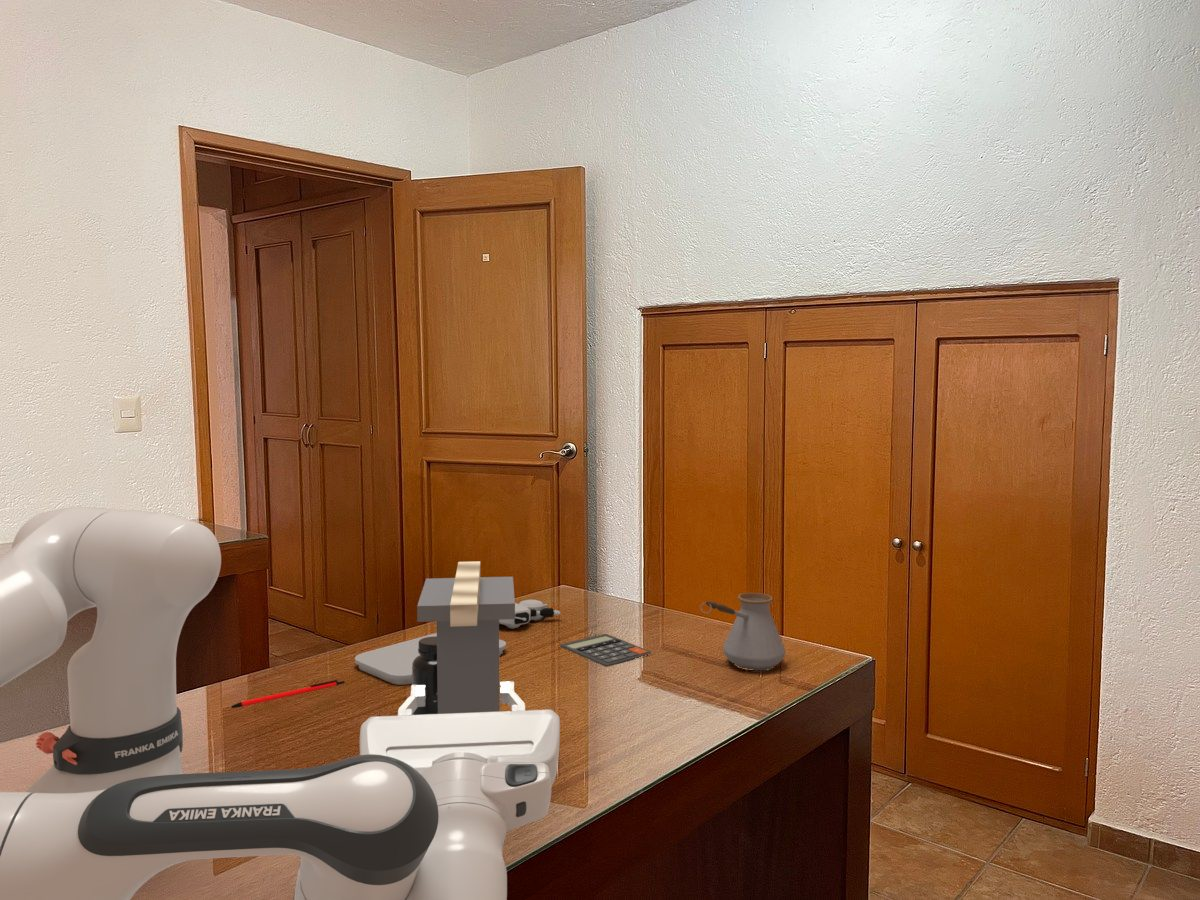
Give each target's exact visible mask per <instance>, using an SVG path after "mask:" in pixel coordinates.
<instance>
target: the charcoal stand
mask: <svg viewBox="0 0 1200 900" xmlns="http://www.w3.org/2000/svg"><path fill="white" fill-rule="evenodd" d="M454 582H455V577H442V578H440V577H439V578H438V577H437V578H436V577H434V578H425V581H424V584H423V587H422V590H421V593H420V596H419V599H418V602H417V605H416V609H417V610H416V614H417V615H416V617H417V620H416V621H417V623H421V622H422V623H425V622H427V623H429V622H436V633H437V691H438V714H449V713H474V712H498V711H501V710H500V704H501V699H500V656H499V639H500V624H499V620H502V619H515V603H516V601H515V589H514V588H515V585H514V576H487V577H486V576H483V577H481V576H480V592H479V605H478V618H477V626H454V627H450V603H451V598H452V593H453V587H454Z"/></svg>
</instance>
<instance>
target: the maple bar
mask: <svg viewBox="0 0 1200 900" xmlns="http://www.w3.org/2000/svg"><path fill="white" fill-rule="evenodd" d="M480 577H481V560H480V561H478V560H477V561H458V562H457V567H456V573H455V577H454V578H455V582H454V587H453V593H452V598H451V603H450V627H454V626H477V618H478V605H479V592H480Z"/></svg>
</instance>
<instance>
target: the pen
mask: <svg viewBox="0 0 1200 900" xmlns="http://www.w3.org/2000/svg"><path fill="white" fill-rule="evenodd" d="M341 684H345V681H344V680H342V681H338V679H334V680H329V681H325V682H321V683H315V684H310V685H309V686H308V687H304V688H299V689H294V690H289V691H285V692H280V693H277V694H272V695H271V694H270V695H268V696H267V695H266V696H262V697H257V698H253V699H248V700H244V701H240V702H238V703H235V704H232V705H231V706H230V708H232V709H233V708H240V707H245V706H250V705H254V704H259V703H264V702H268V701H273V700H277V699H282V698H287V697H290V696H294V695H299V694H304V693H310V692H314V691H317V690H321V689H326V688H331V687H336V686H338V685H341Z"/></svg>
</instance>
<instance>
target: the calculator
mask: <svg viewBox="0 0 1200 900" xmlns="http://www.w3.org/2000/svg"><path fill="white" fill-rule="evenodd" d="M559 647H560V648H563V649H565V650H567V651H569V652H571V653H574V654H576V655H579V656H581V657H583V658H585V659H587V658H588V660H589V659H590V661H592V662H594V663H597V664H599V665H601V666H603V667H607V668H608V667H611V666H615V665H618V664H622V663H623V664H624V663H625V662H626V661H627V662H630V660H631V661H634V660H633V659H635V658H639V657H641V656H645V655H648V654H651V652H652V651H651V650H648V649H646V648H642V647H640V646H638V645H635V644H634V643H631V642H628V641H625V640H623V639H621V638H618V637H615V636H613V635H610V634H608V633H603V634H599V635H594V636H590V637H586V638H582V639H578V640H573V641H569V642H564V643H561V644H559ZM639 659H640V658H639ZM635 660H636V659H635ZM627 662H626V663H627Z"/></svg>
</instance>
